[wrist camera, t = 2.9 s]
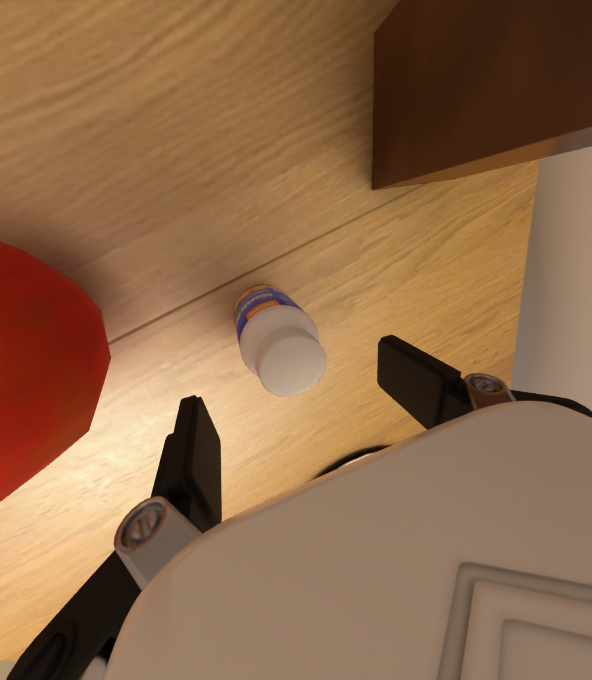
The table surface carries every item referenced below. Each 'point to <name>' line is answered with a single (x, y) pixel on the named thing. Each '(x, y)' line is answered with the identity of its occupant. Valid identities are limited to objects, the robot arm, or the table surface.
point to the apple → (44, 365)
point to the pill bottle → (278, 341)
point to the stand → (479, 86)
